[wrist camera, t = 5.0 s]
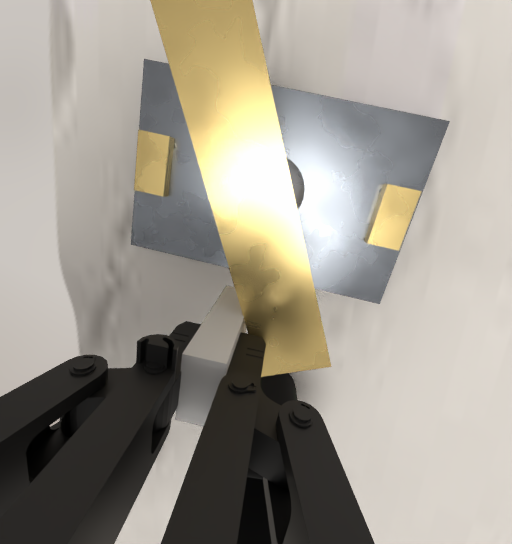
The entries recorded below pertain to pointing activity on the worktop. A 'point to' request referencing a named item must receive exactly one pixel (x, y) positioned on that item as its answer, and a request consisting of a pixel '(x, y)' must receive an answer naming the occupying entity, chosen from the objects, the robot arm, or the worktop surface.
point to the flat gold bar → (245, 173)
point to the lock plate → (294, 182)
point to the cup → (254, 510)
